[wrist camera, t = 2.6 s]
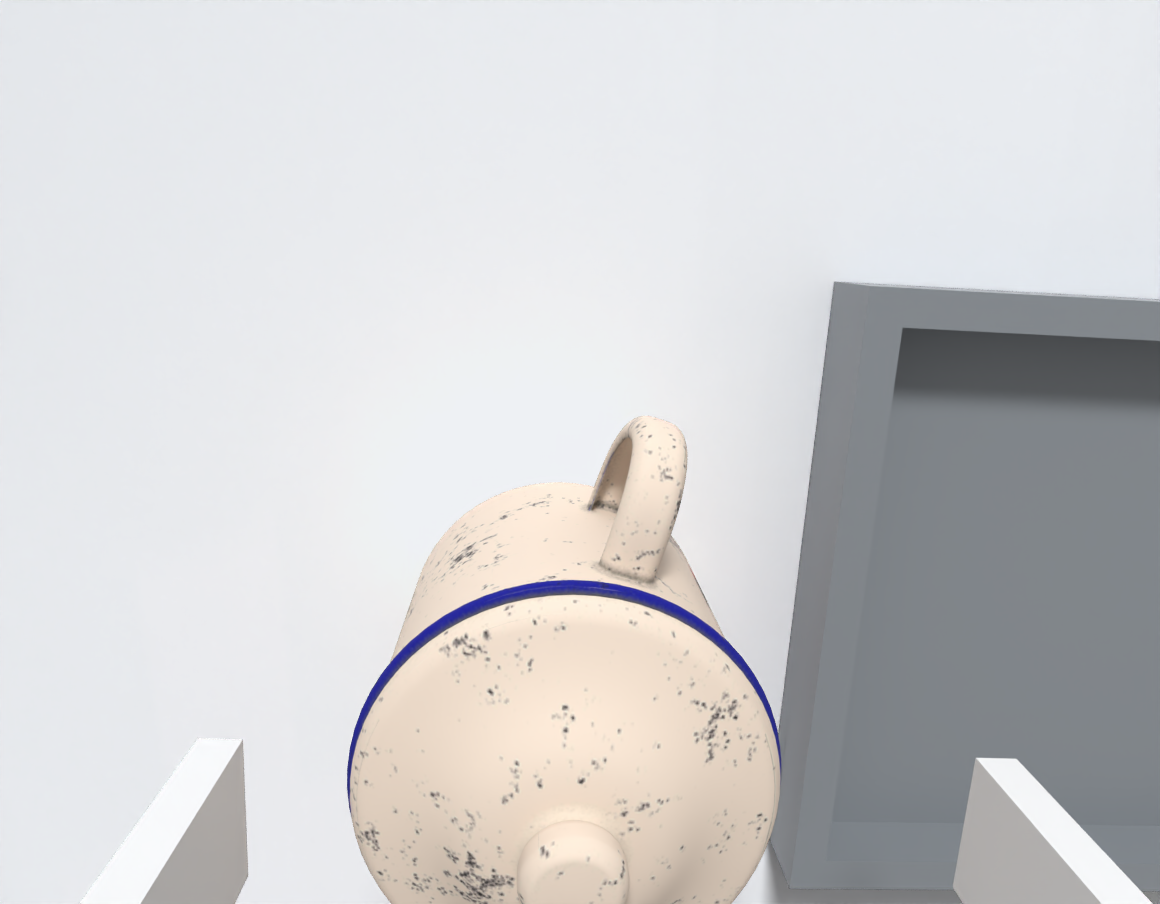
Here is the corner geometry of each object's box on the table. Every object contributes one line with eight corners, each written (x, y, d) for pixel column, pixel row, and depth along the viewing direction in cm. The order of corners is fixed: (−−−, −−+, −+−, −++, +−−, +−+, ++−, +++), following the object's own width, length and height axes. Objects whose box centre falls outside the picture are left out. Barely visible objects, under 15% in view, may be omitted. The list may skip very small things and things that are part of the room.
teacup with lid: (646, 775, 27) (725, 1147, 16) (372, 703, 26) (251, 1049, 15) (780, 431, 25) (987, 586, 14) (484, 335, 24) (440, 418, 12)
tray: (766, 831, 28) (789, 888, 26) (834, 281, 24) (870, 286, 21) (1275, 836, 29) (1345, 893, 27) (1426, 314, 25) (1526, 322, 23)
